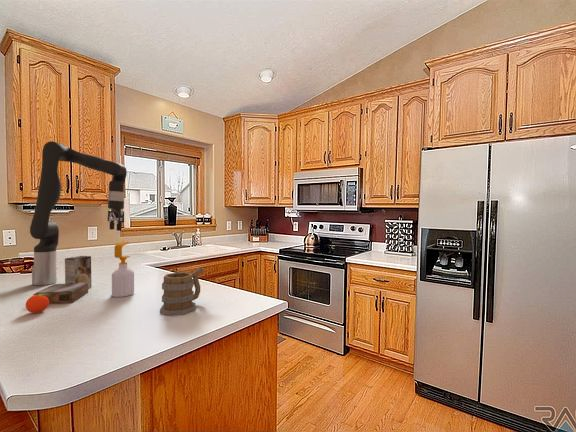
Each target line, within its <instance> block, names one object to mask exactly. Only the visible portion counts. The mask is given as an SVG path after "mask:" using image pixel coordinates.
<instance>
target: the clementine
mask: <svg viewBox="0 0 576 432" xmlns="http://www.w3.org/2000/svg"><path fill="white" fill-rule="evenodd" d="M45 295H48V294H37V295H32V296H30V297H29V298H27V300H26V302H25V309H26V310H27V312H30V313H32V314H39V313H42V312H43V311H45V310H46V309H47V308H48V307H49V305H50V304H49V299H48V297H47V296H45Z"/></svg>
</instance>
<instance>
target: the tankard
mask: <svg viewBox="0 0 576 432" xmlns="http://www.w3.org/2000/svg"><path fill="white" fill-rule="evenodd" d="M200 273H201V274H204V273H205V269H204V268H202V267H198V268H197V269H195V270H194V271H193V272H172V273H167V274H165V275H164V276H163V281H162V283H161V289H162V290H163V294H162V295H161V302H162V303H163V304H162V305H161V307H160V308H159V314H162V315H166V316H167V317H168V316H169V317H172V316H182V315H183V316H184V315H187V314H190V313H192V312H194V311H195V309H196V302H194V301H195V300H197V299H198V298H199V296H200V293H201V284H200V281H199V274H200ZM193 287H194V288H195V289H194V291H193Z"/></svg>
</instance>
